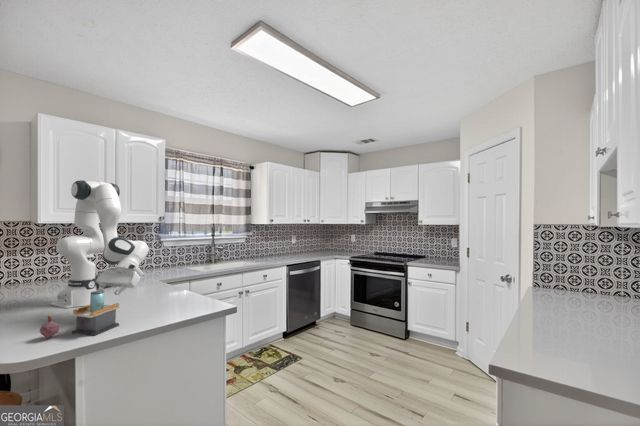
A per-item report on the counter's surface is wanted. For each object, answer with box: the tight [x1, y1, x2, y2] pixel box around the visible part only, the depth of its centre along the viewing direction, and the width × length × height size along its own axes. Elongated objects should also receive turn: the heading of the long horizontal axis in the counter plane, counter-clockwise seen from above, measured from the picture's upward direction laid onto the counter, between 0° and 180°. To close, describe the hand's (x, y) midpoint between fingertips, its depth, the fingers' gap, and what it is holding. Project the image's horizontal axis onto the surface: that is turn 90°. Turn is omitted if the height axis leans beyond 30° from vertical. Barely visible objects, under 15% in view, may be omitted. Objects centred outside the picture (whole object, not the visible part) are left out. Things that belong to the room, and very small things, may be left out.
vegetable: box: [39, 314, 60, 339], centre depth 123 cm, size 6×6×10 cm
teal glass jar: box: [90, 290, 105, 311], centre depth 134 cm, size 5×5×8 cm
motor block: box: [71, 302, 120, 337], centre depth 134 cm, size 14×14×10 cm
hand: (107, 293), depth 139 cm, fingers open, 8 cm apart
